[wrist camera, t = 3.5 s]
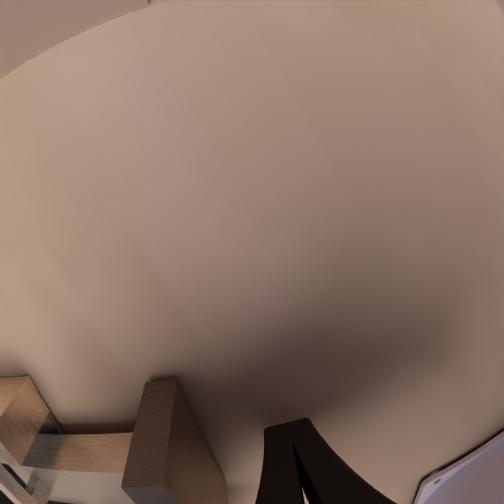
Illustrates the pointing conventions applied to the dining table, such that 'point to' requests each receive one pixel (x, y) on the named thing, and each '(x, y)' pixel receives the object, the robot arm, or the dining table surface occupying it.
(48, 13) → the white cube
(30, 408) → the gauge housing
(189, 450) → the bar with square endplate
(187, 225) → the dining table surface
